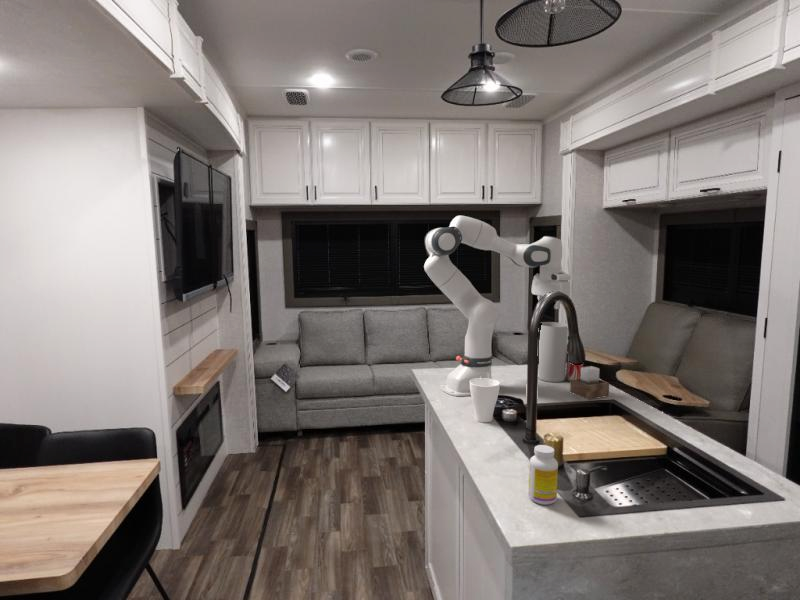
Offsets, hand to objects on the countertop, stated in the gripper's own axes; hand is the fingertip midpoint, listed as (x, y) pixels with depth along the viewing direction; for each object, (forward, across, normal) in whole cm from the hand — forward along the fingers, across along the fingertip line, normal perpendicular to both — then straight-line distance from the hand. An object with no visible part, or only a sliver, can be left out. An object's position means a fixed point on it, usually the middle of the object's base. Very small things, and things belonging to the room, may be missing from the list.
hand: (549, 307), depth 213 cm
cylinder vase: (+34, -7, +9) cm, 36 cm away
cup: (+34, +24, -48) cm, 64 cm away
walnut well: (+34, +17, +8) cm, 39 cm away
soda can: (+34, -1, +17) cm, 38 cm away
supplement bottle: (+34, +75, -65) cm, 105 cm away
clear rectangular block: (+33, +17, +8) cm, 38 cm away
